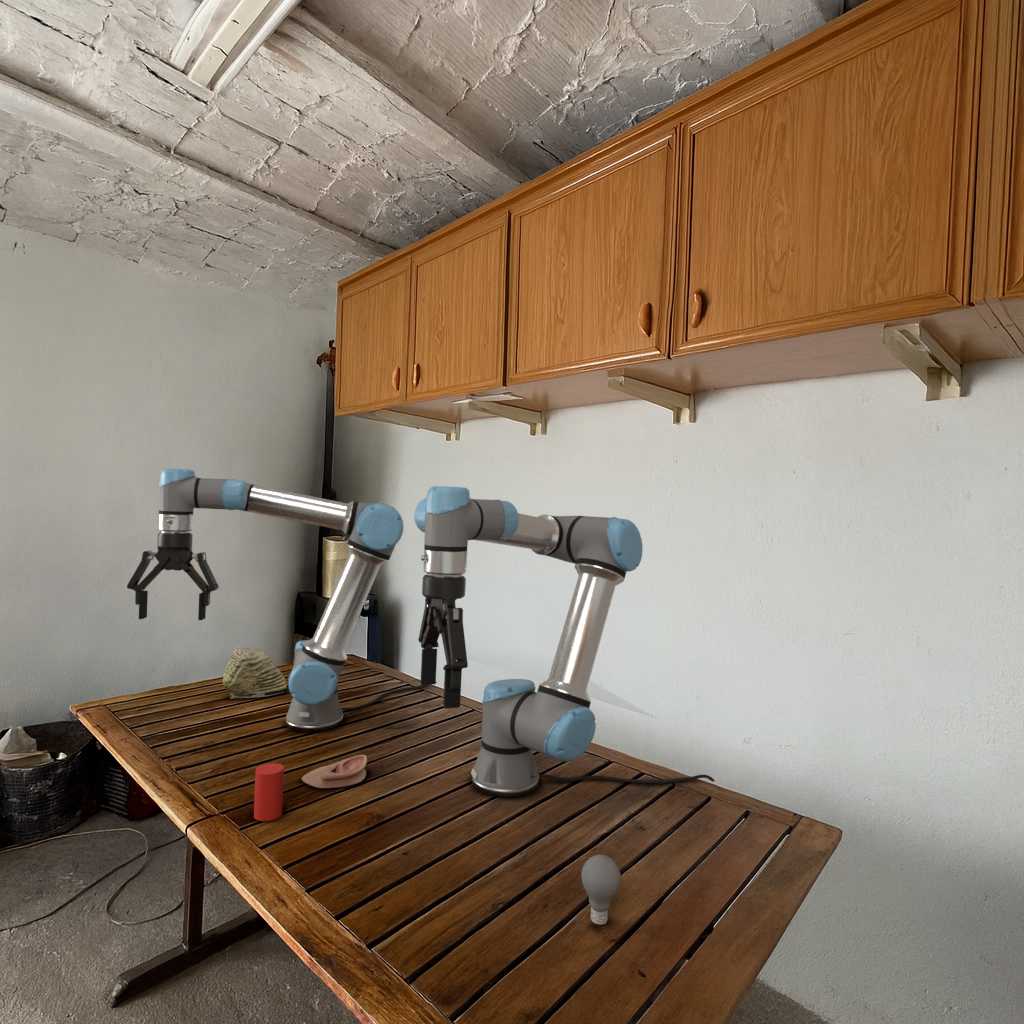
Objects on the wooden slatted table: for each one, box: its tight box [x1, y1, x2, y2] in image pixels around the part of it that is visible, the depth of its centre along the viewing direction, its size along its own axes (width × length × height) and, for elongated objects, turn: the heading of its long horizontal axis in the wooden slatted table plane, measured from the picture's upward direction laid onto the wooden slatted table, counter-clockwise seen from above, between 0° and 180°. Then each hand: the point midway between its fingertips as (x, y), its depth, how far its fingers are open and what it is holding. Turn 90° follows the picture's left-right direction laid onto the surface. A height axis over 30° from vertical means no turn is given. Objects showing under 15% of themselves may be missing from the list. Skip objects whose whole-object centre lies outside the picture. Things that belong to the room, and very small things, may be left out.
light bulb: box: [580, 854, 622, 926], centre depth 97 cm, size 6×6×10 cm
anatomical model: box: [301, 754, 368, 789], centre depth 143 cm, size 13×4×12 cm
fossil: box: [222, 646, 288, 699], centre depth 198 cm, size 9×18×15 cm, turn 132°
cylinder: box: [253, 762, 285, 822], centre depth 125 cm, size 5×5×9 cm
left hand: (172, 618), depth 155 cm, fingers open, 13 cm apart
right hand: (439, 695), depth 111 cm, fingers open, 13 cm apart
